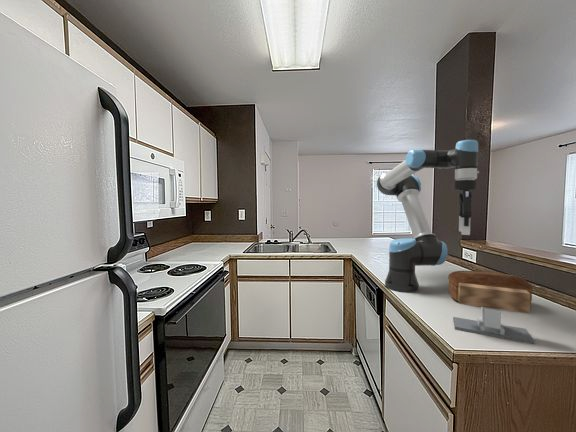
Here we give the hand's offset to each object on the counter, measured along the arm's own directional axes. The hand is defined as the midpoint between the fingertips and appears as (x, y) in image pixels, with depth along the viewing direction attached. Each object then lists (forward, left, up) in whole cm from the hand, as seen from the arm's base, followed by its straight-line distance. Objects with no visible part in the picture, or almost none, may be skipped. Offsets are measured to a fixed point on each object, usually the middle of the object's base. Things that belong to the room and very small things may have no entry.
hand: (464, 233), depth 113 cm
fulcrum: (+6, -24, -29) cm, 38 cm away
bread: (+9, +8, -29) cm, 31 cm away
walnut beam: (+6, -24, -21) cm, 32 cm away
